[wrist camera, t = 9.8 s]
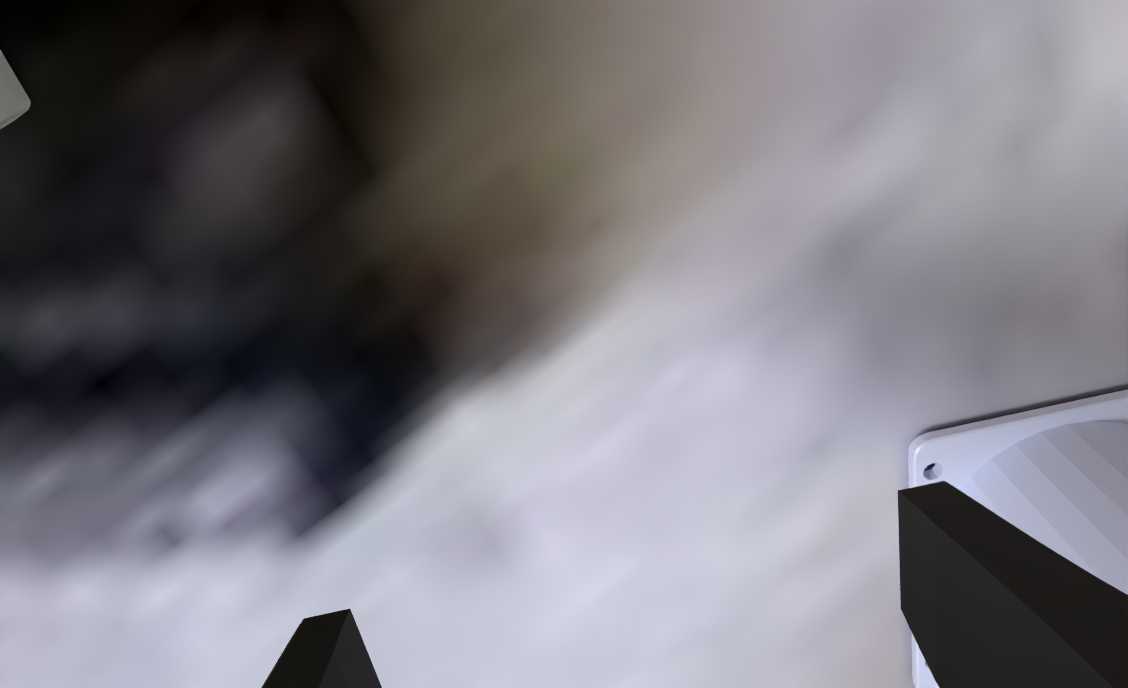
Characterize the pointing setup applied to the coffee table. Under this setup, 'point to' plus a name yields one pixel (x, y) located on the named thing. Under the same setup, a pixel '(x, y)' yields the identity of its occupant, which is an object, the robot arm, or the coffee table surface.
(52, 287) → the coffee table surface
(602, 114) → the coffee table surface
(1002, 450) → the robot arm
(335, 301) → the coffee table surface
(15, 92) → the tea box
